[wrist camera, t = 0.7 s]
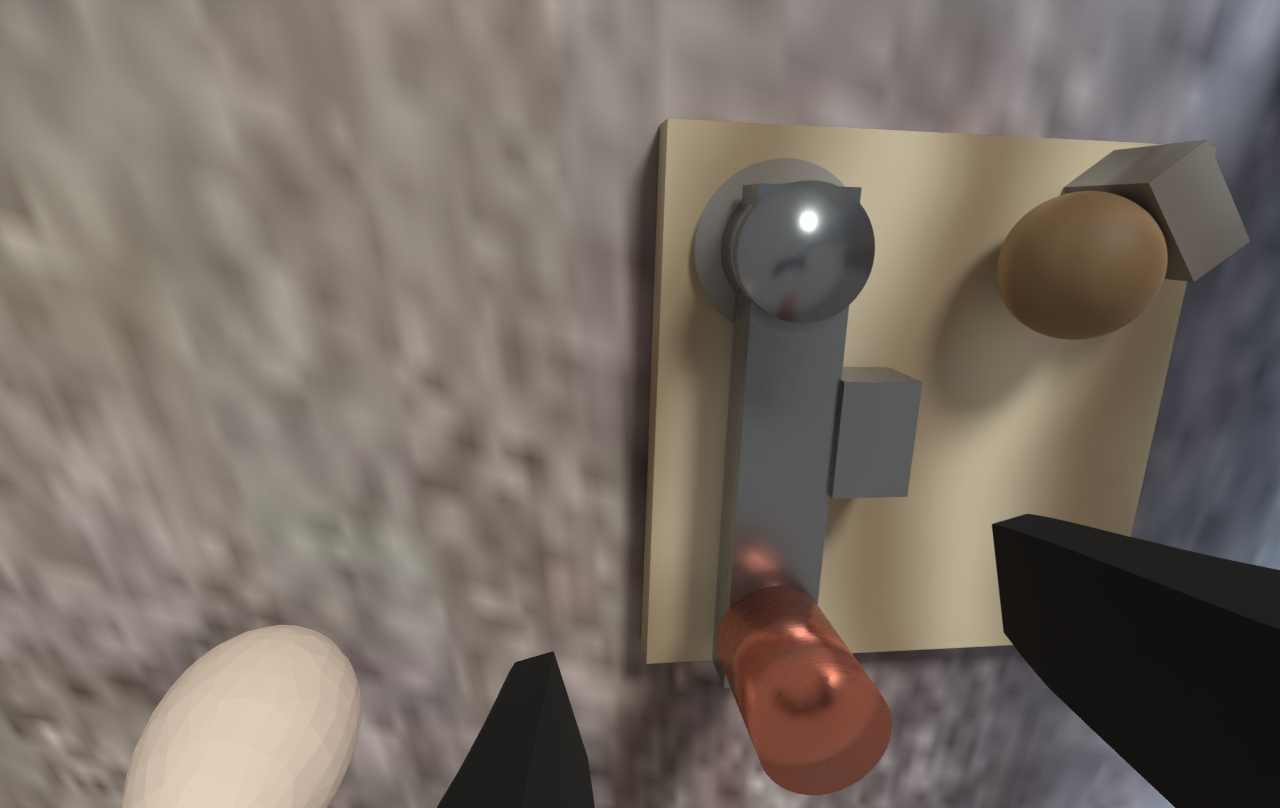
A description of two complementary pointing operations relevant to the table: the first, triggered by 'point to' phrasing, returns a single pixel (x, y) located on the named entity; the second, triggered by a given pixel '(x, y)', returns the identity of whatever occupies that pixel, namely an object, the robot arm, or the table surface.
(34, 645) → the table surface
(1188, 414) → the table surface
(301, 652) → the egg
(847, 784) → the lever
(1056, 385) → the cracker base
